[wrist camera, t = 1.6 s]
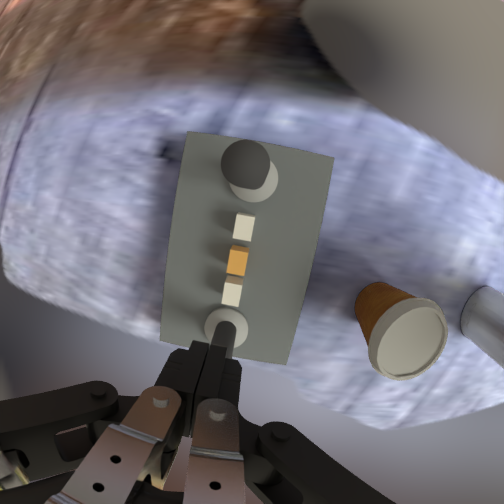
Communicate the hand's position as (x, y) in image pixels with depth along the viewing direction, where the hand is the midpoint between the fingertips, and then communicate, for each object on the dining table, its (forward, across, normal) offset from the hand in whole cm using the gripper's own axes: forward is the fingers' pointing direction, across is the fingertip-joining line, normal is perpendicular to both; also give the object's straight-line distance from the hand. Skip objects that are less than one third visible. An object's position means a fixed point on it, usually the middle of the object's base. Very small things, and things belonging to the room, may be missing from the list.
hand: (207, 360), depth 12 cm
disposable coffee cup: (+25, -19, +4) cm, 32 cm away
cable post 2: (+21, 0, -8) cm, 22 cm away
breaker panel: (+25, 0, 0) cm, 25 cm away
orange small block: (+20, 0, 0) cm, 20 cm away
